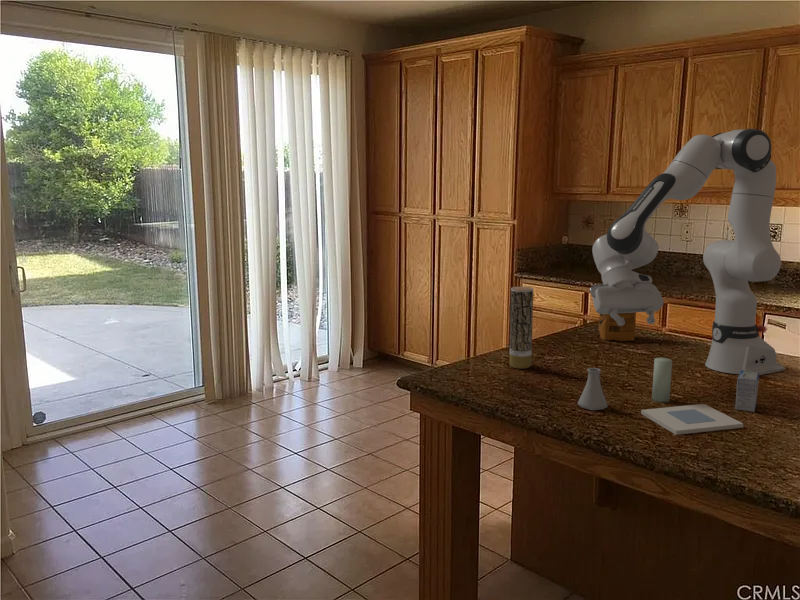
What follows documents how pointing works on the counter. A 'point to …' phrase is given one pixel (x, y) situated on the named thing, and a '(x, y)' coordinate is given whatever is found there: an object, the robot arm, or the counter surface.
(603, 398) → the flask
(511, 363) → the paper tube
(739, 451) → the counter surface
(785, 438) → the counter surface
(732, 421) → the card
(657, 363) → the pale green cylinder
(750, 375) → the medicine box
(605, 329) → the coffee package
